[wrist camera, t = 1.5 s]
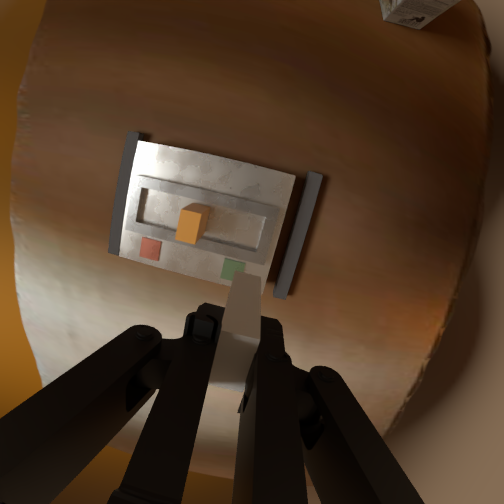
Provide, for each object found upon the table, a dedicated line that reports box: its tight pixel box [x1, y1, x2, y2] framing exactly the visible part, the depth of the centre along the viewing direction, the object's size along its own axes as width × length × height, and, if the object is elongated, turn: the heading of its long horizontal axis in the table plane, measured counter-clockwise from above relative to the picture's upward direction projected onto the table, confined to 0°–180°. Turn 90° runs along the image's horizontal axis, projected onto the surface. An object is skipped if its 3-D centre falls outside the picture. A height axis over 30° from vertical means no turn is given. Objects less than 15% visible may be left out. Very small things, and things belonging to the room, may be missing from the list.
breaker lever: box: [175, 203, 210, 245], centre depth 30 cm, size 3×2×5 cm, turn 165°
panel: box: [119, 141, 296, 294], centre depth 34 cm, size 14×18×5 cm
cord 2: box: [273, 171, 323, 300], centre depth 36 cm, size 16×2×2 cm, turn 166°
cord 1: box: [108, 131, 144, 255], centre depth 35 cm, size 16×2×2 cm, turn 166°
